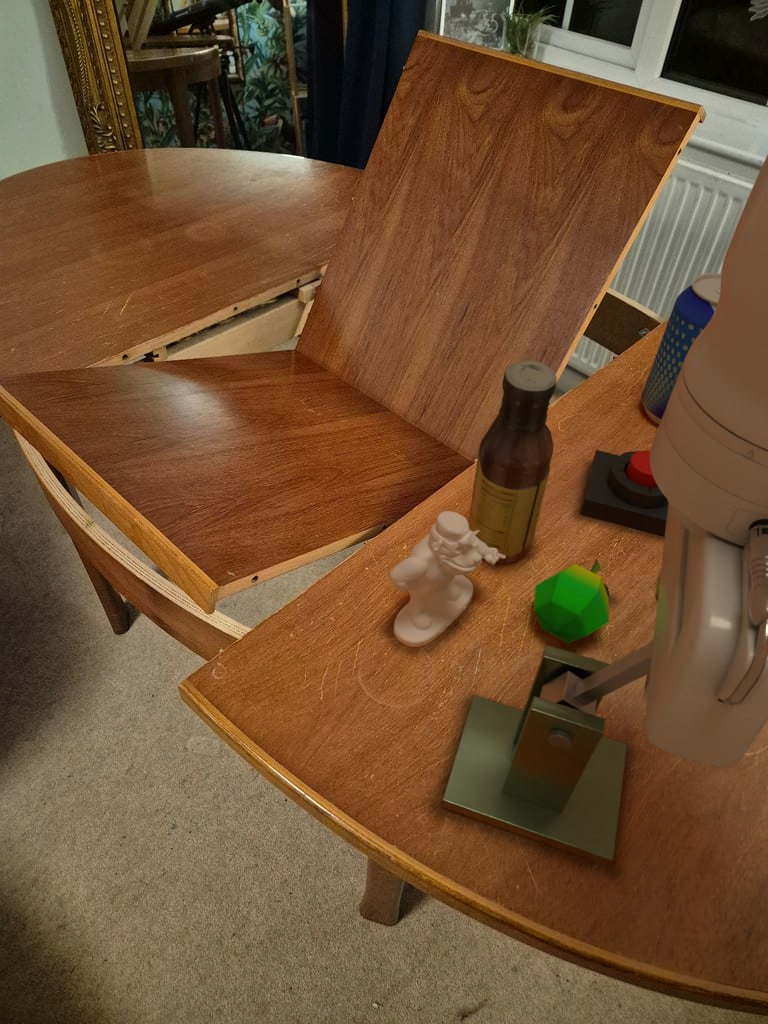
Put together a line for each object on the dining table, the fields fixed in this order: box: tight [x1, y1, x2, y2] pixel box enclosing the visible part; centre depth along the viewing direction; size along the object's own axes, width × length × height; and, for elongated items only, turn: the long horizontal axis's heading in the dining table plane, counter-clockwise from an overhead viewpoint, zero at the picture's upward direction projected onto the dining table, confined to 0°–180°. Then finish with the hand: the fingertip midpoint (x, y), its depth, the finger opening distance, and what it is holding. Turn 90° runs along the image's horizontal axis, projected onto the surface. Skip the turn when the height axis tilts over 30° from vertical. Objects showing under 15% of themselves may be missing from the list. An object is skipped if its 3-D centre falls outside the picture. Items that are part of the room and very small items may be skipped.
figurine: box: [389, 510, 506, 648], centre depth 61 cm, size 9×7×12 cm
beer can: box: [641, 272, 721, 426], centre depth 81 cm, size 8×8×16 cm
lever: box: [540, 640, 654, 715], centre depth 44 cm, size 12×6×2 cm
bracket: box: [440, 644, 628, 867], centre depth 50 cm, size 12×9×13 cm
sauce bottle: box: [468, 360, 557, 565], centre depth 64 cm, size 6×6×20 cm
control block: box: [580, 449, 668, 537], centre depth 75 cm, size 10×8×4 cm
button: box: [626, 450, 658, 488], centre depth 73 cm, size 4×4×2 cm
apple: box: [533, 559, 611, 644], centre depth 64 cm, size 7×6×9 cm
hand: (665, 642), depth 41 cm, fingers closed on lever, 5 cm apart
